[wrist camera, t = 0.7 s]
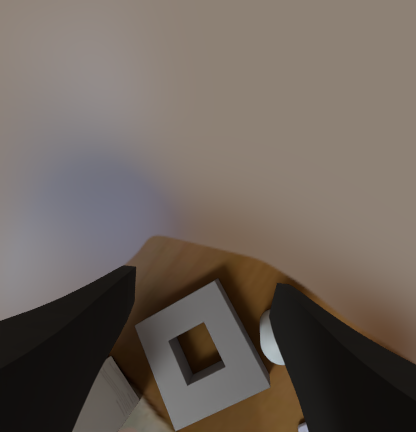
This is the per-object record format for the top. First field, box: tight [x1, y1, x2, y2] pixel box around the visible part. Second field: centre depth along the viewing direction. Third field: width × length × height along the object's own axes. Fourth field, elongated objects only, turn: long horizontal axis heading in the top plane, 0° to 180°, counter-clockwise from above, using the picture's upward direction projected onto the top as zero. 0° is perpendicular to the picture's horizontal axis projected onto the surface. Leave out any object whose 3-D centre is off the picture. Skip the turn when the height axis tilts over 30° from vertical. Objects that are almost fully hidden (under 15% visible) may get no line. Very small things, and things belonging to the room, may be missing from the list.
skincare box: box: [72, 356, 140, 432], centre depth 24 cm, size 8×6×15 cm
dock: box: [135, 279, 270, 431], centre depth 28 cm, size 14×14×2 cm
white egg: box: [260, 309, 285, 365], centre depth 25 cm, size 4×4×6 cm
